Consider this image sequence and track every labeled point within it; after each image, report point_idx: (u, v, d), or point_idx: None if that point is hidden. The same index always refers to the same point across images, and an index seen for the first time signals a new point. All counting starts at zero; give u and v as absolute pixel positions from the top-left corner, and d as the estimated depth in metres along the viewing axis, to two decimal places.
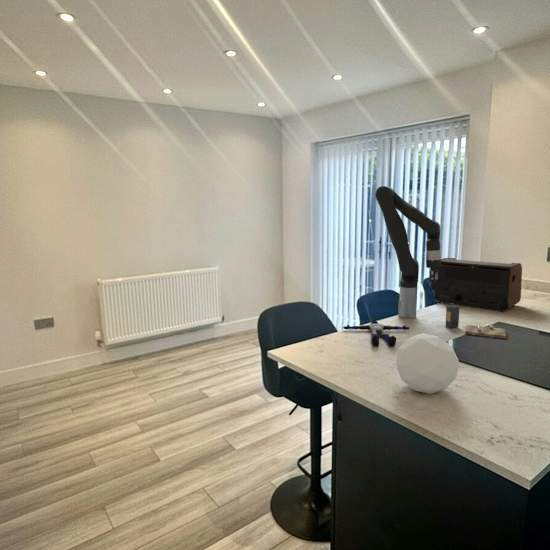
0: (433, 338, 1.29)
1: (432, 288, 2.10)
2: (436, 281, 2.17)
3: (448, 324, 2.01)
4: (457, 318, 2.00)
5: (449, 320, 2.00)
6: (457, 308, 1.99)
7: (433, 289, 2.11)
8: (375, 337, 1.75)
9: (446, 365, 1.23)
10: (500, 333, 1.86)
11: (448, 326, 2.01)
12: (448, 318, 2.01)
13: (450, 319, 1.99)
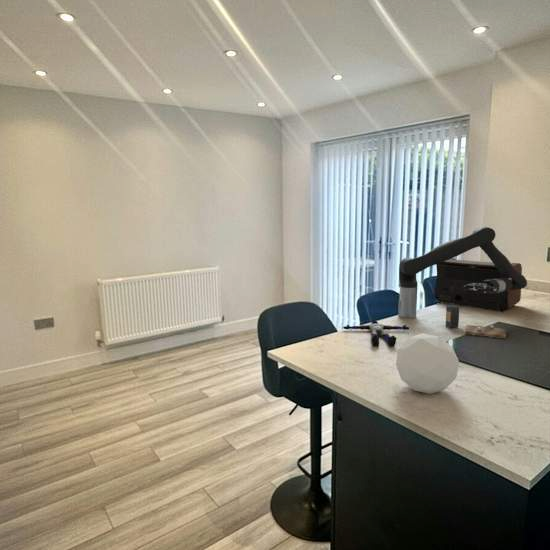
0: (433, 338, 1.29)
1: (480, 290, 1.99)
2: (468, 288, 2.08)
3: (448, 324, 2.01)
4: (457, 318, 2.00)
5: (449, 320, 2.00)
6: (457, 308, 1.99)
7: (478, 291, 1.99)
8: (375, 337, 1.75)
9: (446, 365, 1.23)
10: (500, 333, 1.86)
11: (448, 326, 2.01)
12: (448, 318, 2.01)
13: (450, 319, 1.99)
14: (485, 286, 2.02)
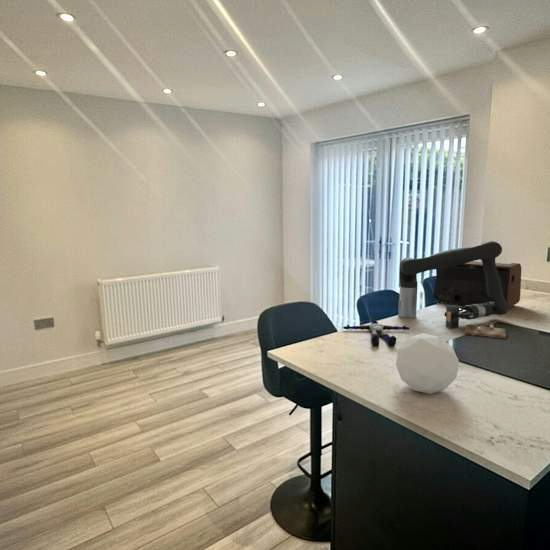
0: (433, 338, 1.29)
1: (454, 316, 1.97)
2: None
3: (448, 324, 2.01)
4: (457, 318, 2.00)
5: (449, 320, 2.00)
6: (457, 308, 1.99)
7: (452, 316, 1.98)
8: (375, 337, 1.75)
9: (446, 365, 1.23)
10: (500, 333, 1.86)
11: (448, 326, 2.01)
12: (448, 318, 2.01)
13: (450, 319, 1.99)
14: (461, 312, 2.00)
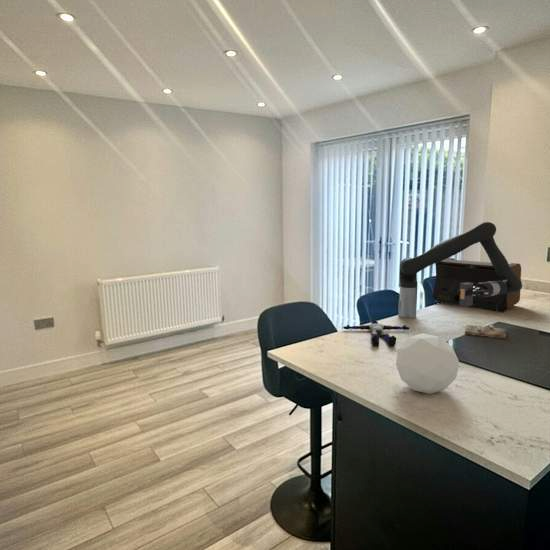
0: (433, 338, 1.29)
1: (468, 293, 1.92)
2: None
3: (462, 302, 1.95)
4: (471, 296, 1.95)
5: (463, 298, 1.94)
6: (471, 285, 1.94)
7: (466, 294, 1.92)
8: (375, 337, 1.75)
9: (446, 365, 1.23)
10: (500, 333, 1.86)
11: (462, 304, 1.95)
12: (462, 295, 1.95)
13: (464, 296, 1.94)
14: (475, 289, 1.94)
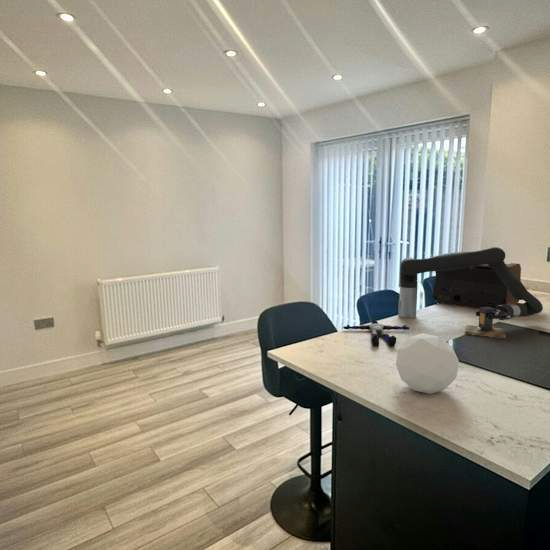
0: (433, 338, 1.29)
1: (491, 317, 1.85)
2: None
3: (481, 327, 1.90)
4: (491, 320, 1.90)
5: (482, 322, 1.89)
6: (491, 310, 1.89)
7: (489, 317, 1.86)
8: (375, 337, 1.75)
9: (446, 365, 1.23)
10: (500, 333, 1.86)
11: (481, 329, 1.90)
12: (481, 320, 1.90)
13: (484, 321, 1.89)
14: (497, 312, 1.88)
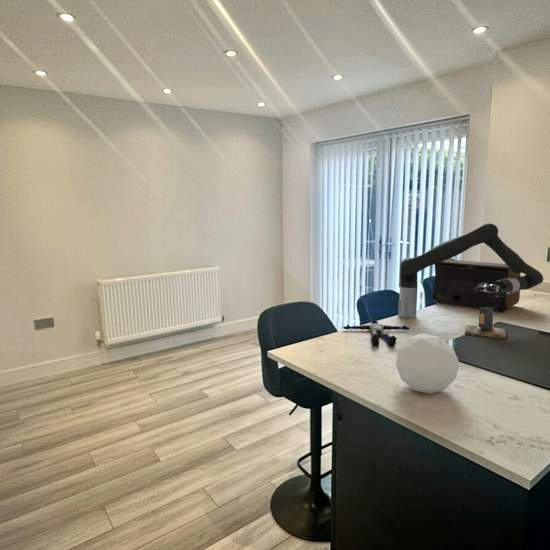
0: (433, 338, 1.29)
1: (491, 295, 1.84)
2: (479, 290, 1.94)
3: (481, 327, 1.90)
4: (491, 320, 1.90)
5: (482, 322, 1.89)
6: (491, 310, 1.89)
7: (489, 295, 1.85)
8: (375, 337, 1.75)
9: (446, 365, 1.23)
10: (500, 333, 1.86)
11: (481, 329, 1.90)
12: (481, 320, 1.90)
13: (484, 321, 1.89)
14: (497, 289, 1.87)
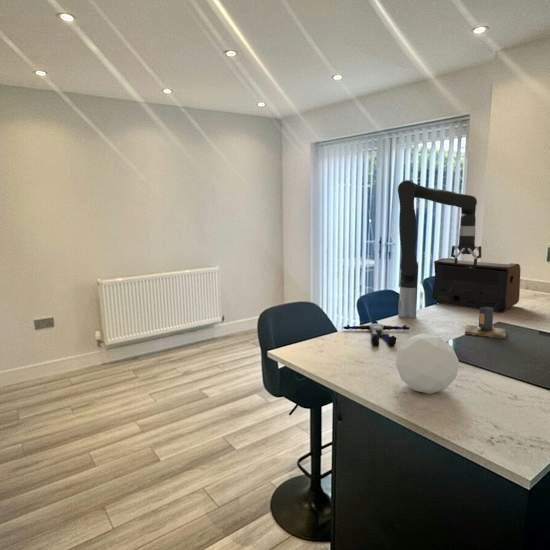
0: (433, 338, 1.29)
1: (476, 264, 2.05)
2: (457, 259, 2.10)
3: (481, 327, 1.90)
4: (491, 320, 1.90)
5: (482, 322, 1.89)
6: (491, 310, 1.89)
7: None
8: (375, 337, 1.75)
9: (446, 365, 1.23)
10: (500, 333, 1.86)
11: (481, 329, 1.90)
12: (481, 320, 1.90)
13: (484, 321, 1.89)
14: (473, 254, 2.04)
